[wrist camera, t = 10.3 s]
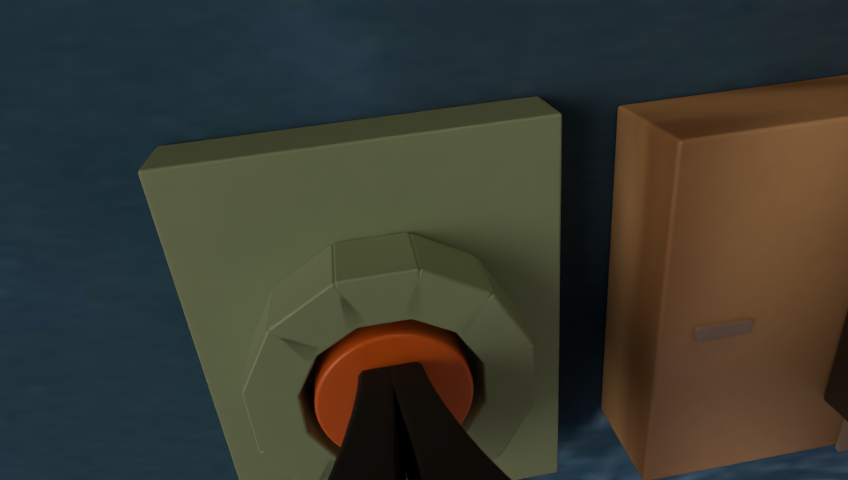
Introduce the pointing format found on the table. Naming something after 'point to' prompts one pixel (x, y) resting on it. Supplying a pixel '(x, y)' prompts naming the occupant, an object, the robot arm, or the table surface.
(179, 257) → the button box
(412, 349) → the button
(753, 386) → the control panel
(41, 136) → the table surface
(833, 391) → the red-striped dark box
